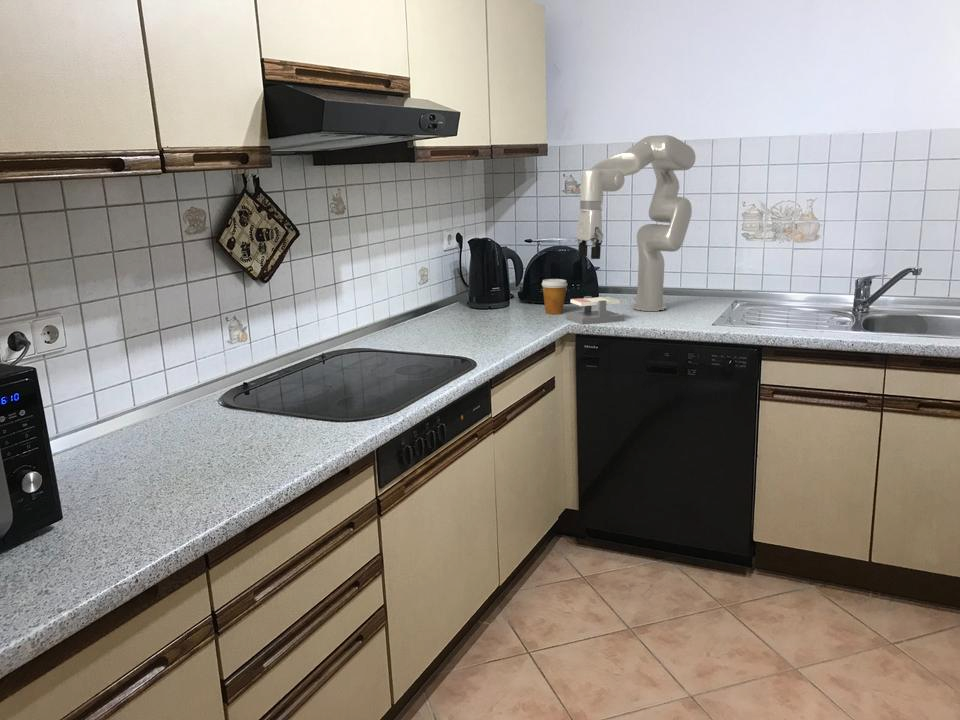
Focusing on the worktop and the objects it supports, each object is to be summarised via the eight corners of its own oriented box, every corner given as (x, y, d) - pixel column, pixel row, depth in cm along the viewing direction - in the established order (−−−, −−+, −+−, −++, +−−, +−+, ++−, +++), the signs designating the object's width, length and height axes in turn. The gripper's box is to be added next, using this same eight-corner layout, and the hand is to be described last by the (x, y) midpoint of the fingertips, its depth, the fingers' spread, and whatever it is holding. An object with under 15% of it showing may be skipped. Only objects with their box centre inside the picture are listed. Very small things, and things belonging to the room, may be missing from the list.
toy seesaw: (566, 318, 277) (566, 297, 275) (606, 315, 282) (606, 294, 281) (582, 324, 266) (582, 302, 264) (623, 321, 272) (624, 299, 270)
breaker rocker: (570, 302, 274) (570, 298, 274) (607, 300, 279) (607, 296, 279) (581, 306, 266) (581, 302, 266) (619, 303, 272) (620, 299, 271)
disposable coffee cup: (571, 312, 290) (572, 279, 287) (559, 316, 282) (560, 282, 279) (548, 309, 295) (548, 278, 292) (536, 313, 287) (536, 281, 284)
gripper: (570, 205, 270) (568, 255, 274) (592, 207, 254) (590, 260, 258) (589, 206, 272) (587, 255, 276) (613, 207, 256) (610, 259, 260)
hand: (588, 257), depth 267 cm, fingers open, 9 cm apart
